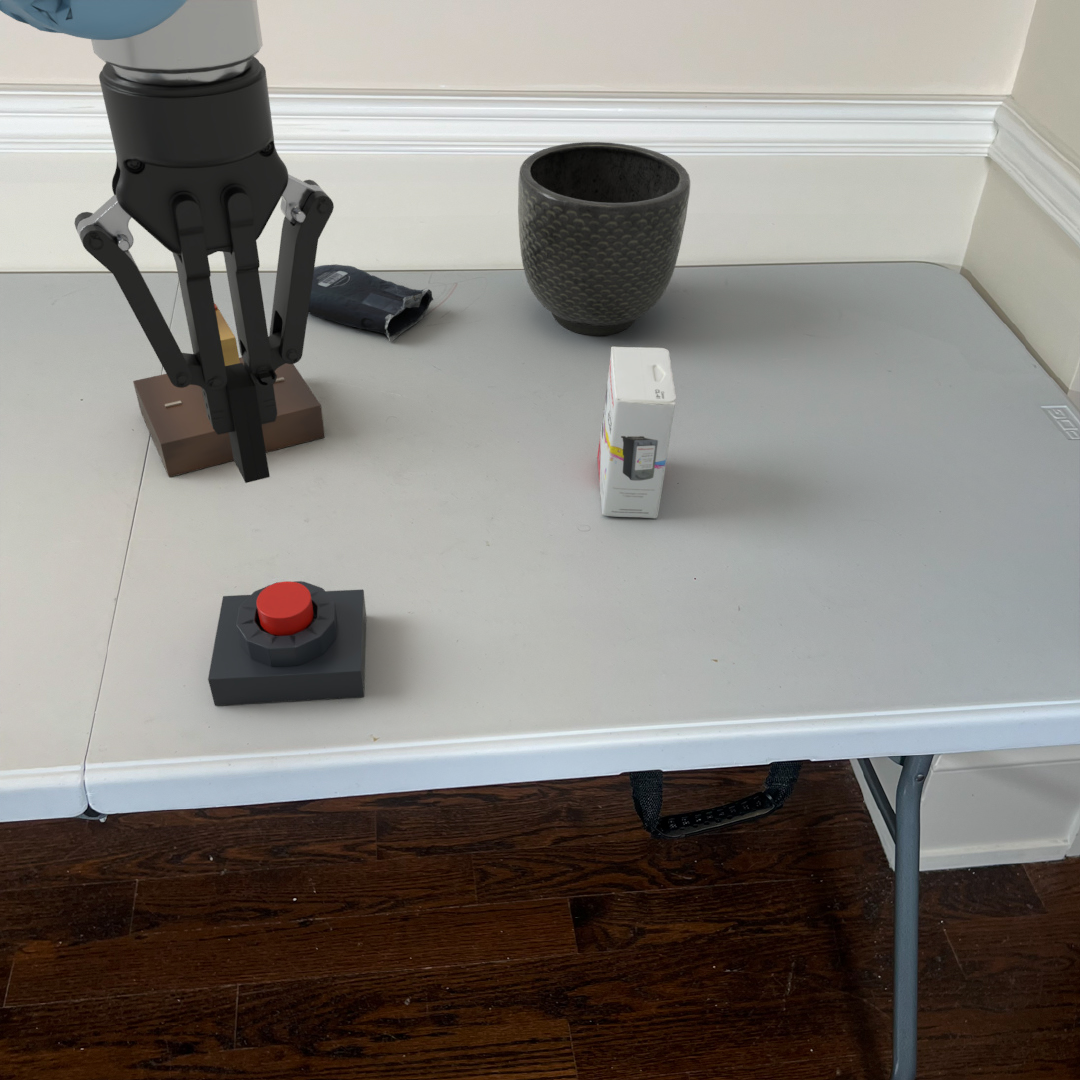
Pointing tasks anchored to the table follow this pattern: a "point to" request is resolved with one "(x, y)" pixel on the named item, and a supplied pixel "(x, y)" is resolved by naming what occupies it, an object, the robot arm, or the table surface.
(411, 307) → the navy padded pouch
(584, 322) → the planter
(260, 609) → the button
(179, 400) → the plate
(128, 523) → the table surface
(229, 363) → the thumb turn
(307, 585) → the grey square base
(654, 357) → the ink box
